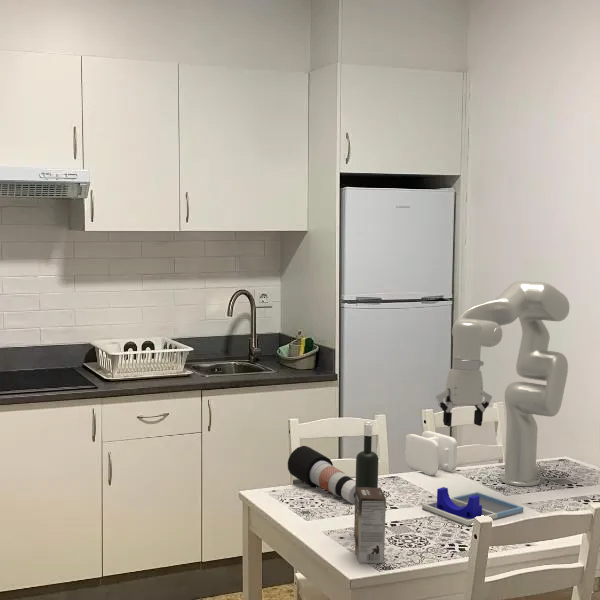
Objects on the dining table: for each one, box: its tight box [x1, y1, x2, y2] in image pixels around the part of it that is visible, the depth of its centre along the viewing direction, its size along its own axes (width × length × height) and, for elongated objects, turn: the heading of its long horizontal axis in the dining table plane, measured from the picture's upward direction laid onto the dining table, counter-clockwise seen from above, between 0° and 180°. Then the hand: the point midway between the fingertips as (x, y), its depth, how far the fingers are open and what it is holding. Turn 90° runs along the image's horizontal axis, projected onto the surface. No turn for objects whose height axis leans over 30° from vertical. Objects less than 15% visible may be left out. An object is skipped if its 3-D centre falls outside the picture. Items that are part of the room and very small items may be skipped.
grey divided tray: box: [421, 491, 524, 527], centre depth 271 cm, size 22×18×2 cm
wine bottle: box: [353, 421, 379, 537], centre depth 248 cm, size 6×6×30 cm
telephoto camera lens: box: [287, 445, 356, 505], centre depth 285 cm, size 10×34×10 cm, turn 34°
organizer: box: [404, 430, 458, 477], centre depth 313 cm, size 15×11×12 cm
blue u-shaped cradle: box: [436, 486, 482, 519], centre depth 268 cm, size 12×4×6 cm, turn 47°
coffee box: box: [354, 487, 387, 564], centre depth 233 cm, size 9×6×16 cm
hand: (462, 425), depth 271 cm, fingers open, 9 cm apart
